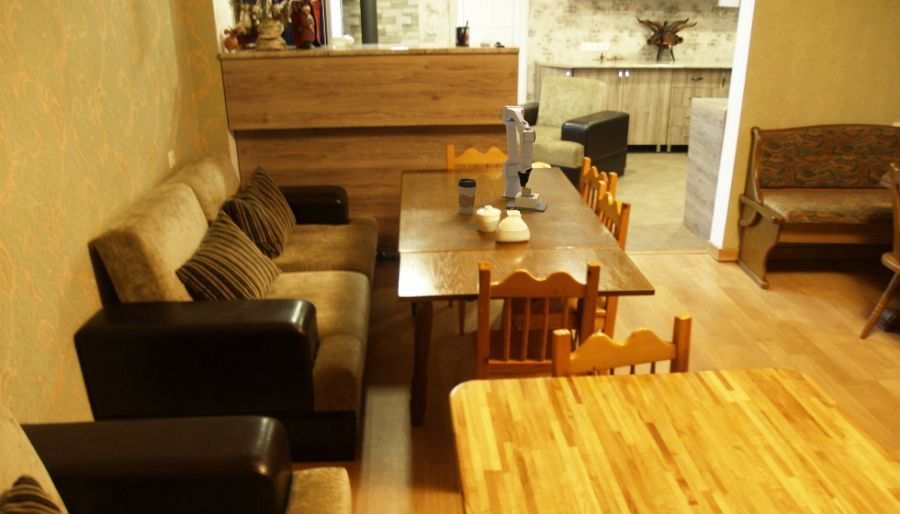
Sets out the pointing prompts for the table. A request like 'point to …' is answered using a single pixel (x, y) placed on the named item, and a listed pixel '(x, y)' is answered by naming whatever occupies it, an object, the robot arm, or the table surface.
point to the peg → (526, 192)
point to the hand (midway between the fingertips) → (524, 184)
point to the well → (527, 203)
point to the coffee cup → (466, 195)
